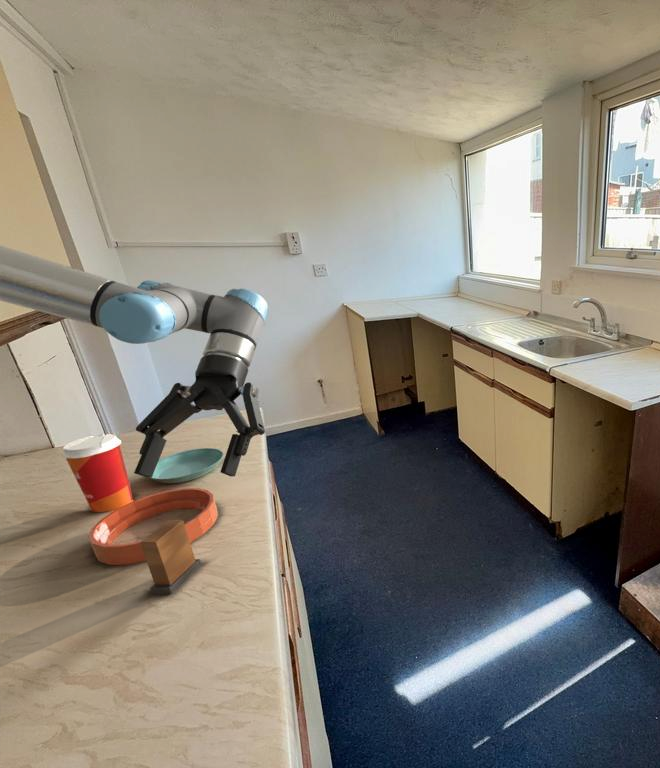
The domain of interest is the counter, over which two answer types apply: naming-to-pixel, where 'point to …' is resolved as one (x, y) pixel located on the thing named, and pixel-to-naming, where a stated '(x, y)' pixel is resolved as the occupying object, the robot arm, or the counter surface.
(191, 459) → the saucer
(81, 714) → the counter surface
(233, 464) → the robot arm
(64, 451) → the coffee cup
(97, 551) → the bowl
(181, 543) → the eraser
